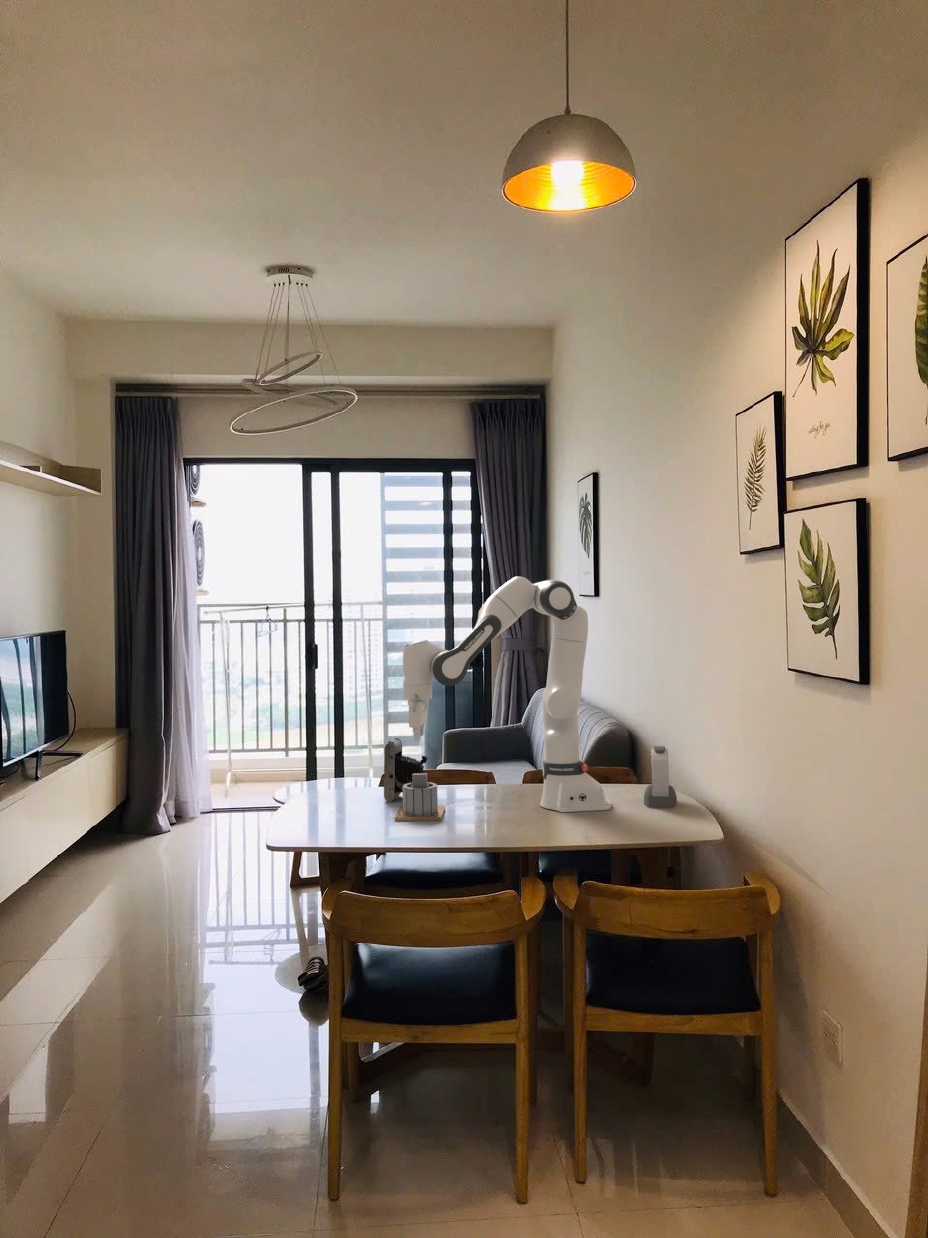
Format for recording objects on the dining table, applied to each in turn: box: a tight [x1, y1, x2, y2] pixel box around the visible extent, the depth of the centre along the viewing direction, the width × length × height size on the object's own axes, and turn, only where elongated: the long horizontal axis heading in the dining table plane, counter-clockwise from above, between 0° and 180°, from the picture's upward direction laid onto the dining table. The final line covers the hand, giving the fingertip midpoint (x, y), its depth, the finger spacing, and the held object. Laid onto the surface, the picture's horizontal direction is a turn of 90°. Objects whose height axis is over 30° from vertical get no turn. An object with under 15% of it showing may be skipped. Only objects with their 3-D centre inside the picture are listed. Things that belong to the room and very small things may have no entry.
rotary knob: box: [410, 773, 430, 788], centre depth 272 cm, size 6×6×6 cm
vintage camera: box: [383, 737, 429, 803], centre depth 294 cm, size 10×15×20 cm, turn 78°
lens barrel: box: [394, 781, 446, 822], centre depth 272 cm, size 14×14×9 cm
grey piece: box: [643, 745, 678, 809], centre depth 281 cm, size 16×10×18 cm, turn 168°
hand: (418, 738), depth 271 cm, fingers open, 8 cm apart
